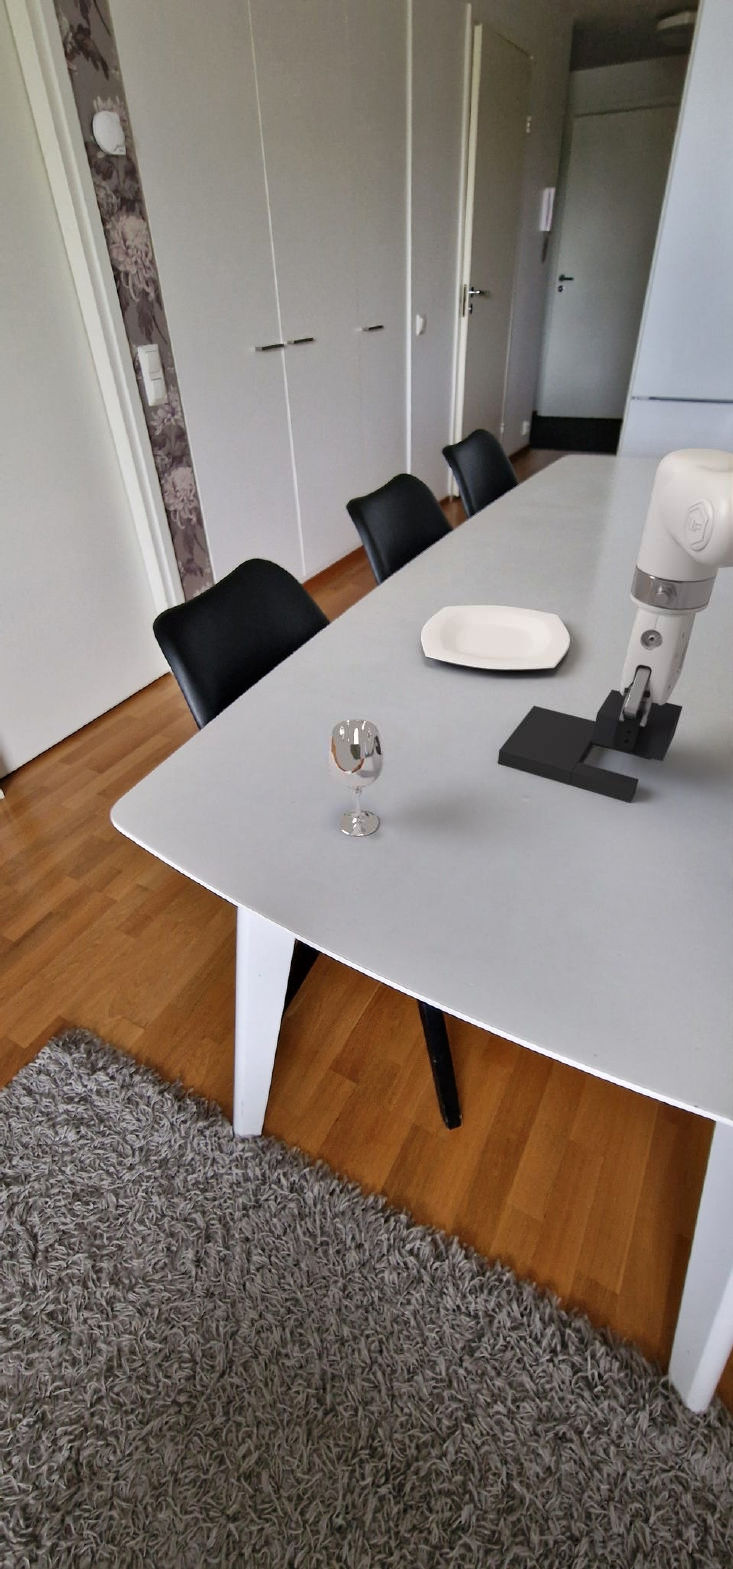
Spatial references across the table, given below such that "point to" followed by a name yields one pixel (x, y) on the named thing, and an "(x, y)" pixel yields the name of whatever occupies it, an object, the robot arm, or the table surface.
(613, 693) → the black rectangular block
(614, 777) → the socket pad
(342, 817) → the wineglass
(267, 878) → the table surface
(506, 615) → the plate
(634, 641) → the robot arm
